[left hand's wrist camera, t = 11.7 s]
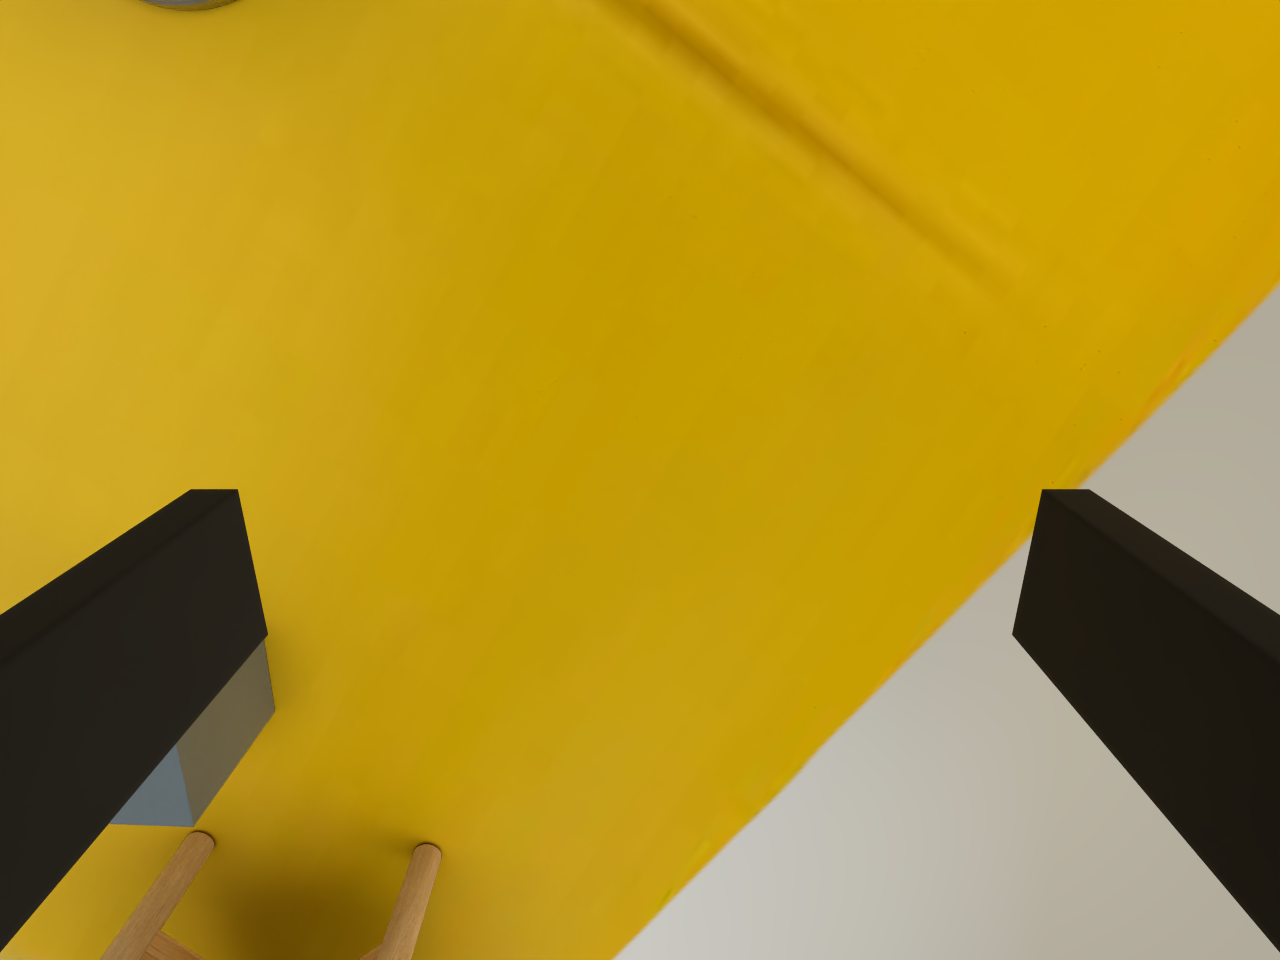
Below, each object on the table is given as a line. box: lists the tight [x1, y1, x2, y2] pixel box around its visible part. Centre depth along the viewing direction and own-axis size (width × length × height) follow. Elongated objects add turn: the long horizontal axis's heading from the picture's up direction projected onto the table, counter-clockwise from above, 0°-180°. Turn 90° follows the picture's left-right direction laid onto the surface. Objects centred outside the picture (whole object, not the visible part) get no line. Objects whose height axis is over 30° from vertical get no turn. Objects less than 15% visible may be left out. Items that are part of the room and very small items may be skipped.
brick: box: [110, 640, 275, 827], centre depth 54 cm, size 6×9×12 cm, turn 177°
